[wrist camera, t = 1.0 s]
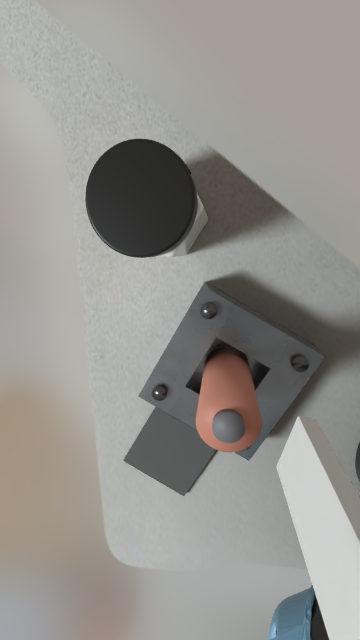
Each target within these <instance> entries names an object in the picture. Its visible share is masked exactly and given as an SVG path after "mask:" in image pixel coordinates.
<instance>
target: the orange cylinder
mask: <svg viewBox="0 0 360 640" xmlns="http://www.w3.org/2000/svg"><path fill="white" fill-rule="evenodd" d="M196 428H197V431H198V433H199V435H200V437H201V438H202V440H203V441H204V442H205V443H206V444H208V445H209V446H210V447H212V448H214V449H216V450H219V451H223V452H238V451H241V450H244V449H246V448H248V447H249V446H251V445H252V444H253V443H254V442H255V441H256V440H257V438H258V437H259V435H260V432H261V428H262V420H261V415H260V411H259V406H258V402H257V398H256V393H255V389H254V384H253V380H252V376H251V371H250V367H249V363H248V360H247V358H246V356H245V355H244V354H243V353H242V352H241V351H239V350H238V349H236V348H234V347H230V346H223V347H219V348H216V349H215V350H213V351H212V352H211V353H210V354H209V355H208V356H207V358H206V361H205V365H204V371H203V377H202V383H201V389H200V396H199V402H198V408H197V414H196Z"/></svg>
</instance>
